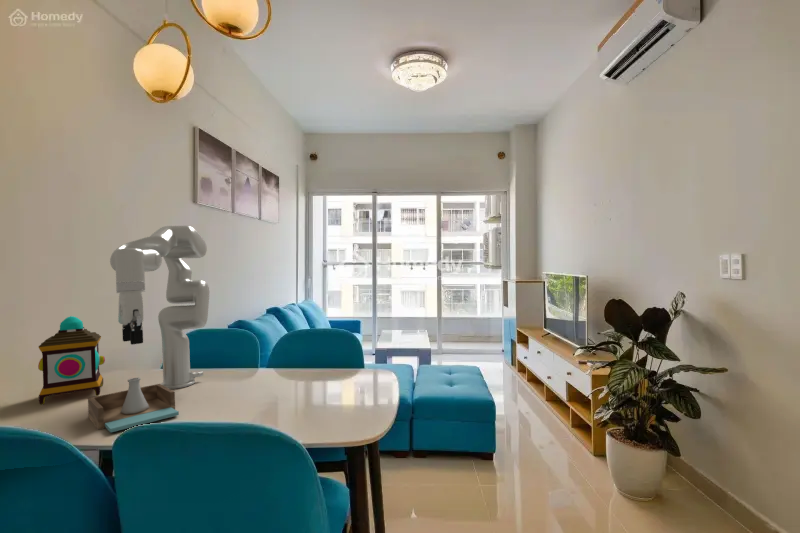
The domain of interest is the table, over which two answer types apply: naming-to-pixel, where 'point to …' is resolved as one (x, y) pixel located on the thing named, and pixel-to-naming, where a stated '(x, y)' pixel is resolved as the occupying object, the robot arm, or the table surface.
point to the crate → (111, 404)
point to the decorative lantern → (70, 360)
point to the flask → (134, 398)
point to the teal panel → (141, 419)
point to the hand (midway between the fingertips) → (132, 342)
